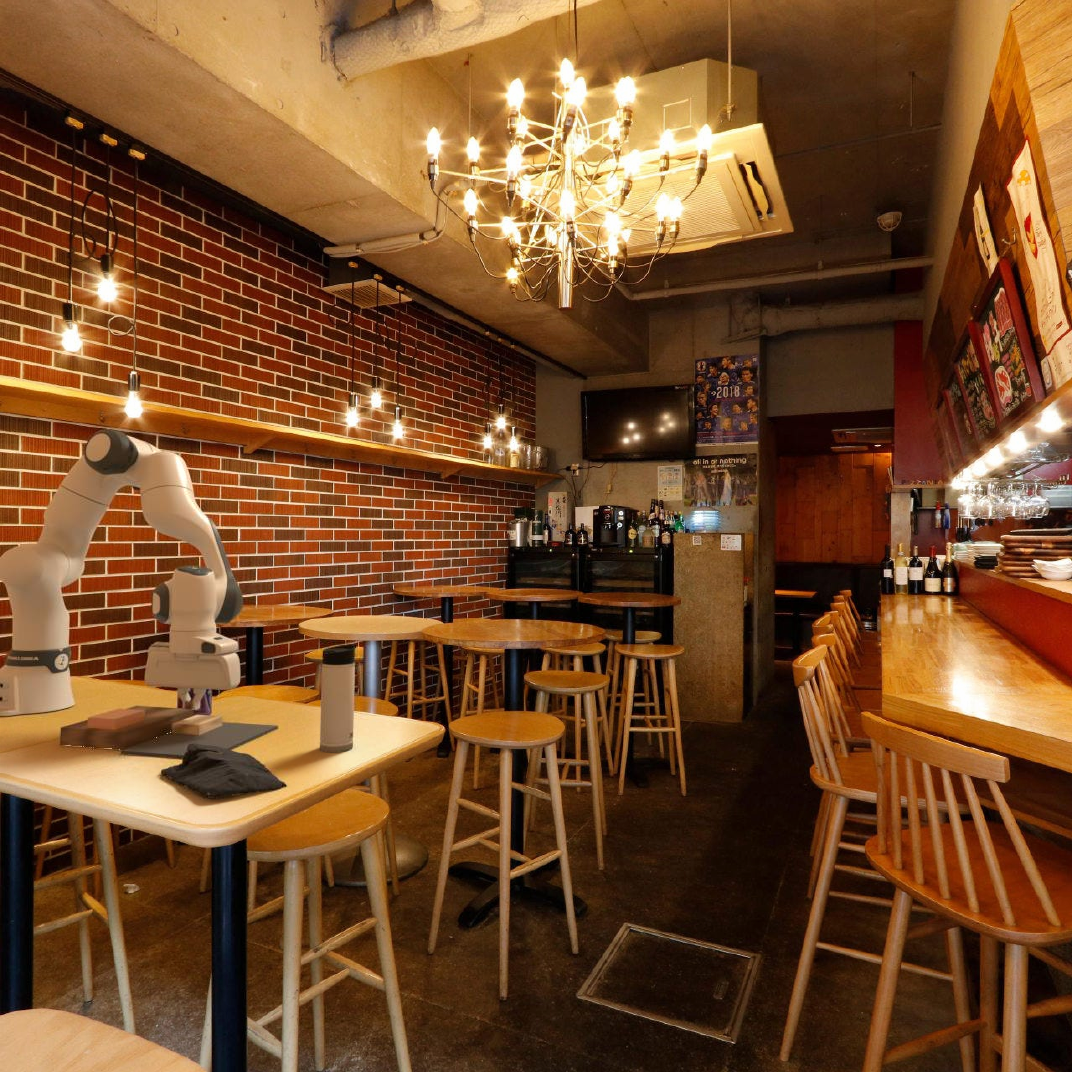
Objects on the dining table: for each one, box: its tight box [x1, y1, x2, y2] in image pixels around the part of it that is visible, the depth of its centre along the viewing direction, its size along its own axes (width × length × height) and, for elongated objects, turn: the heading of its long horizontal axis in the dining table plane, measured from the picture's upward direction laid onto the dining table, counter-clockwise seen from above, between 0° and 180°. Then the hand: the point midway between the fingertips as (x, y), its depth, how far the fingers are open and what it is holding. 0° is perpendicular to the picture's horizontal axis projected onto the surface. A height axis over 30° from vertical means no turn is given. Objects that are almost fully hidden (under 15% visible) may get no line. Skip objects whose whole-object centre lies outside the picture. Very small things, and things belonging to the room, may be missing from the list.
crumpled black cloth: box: [160, 743, 288, 799], centre depth 118 cm, size 15×22×5 cm
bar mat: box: [120, 721, 279, 759], centre depth 142 cm, size 18×24×1 cm
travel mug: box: [319, 643, 357, 753], centre depth 138 cm, size 6×7×20 cm
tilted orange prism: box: [87, 708, 145, 730], centre depth 139 cm, size 6×8×2 cm
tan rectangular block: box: [172, 715, 223, 735], centre depth 148 cm, size 6×8×2 cm
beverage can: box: [176, 688, 213, 716], centre depth 160 cm, size 7×7×12 cm
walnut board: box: [59, 705, 193, 751], centre depth 145 cm, size 14×20×4 cm
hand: (191, 709), depth 148 cm, fingers closed
